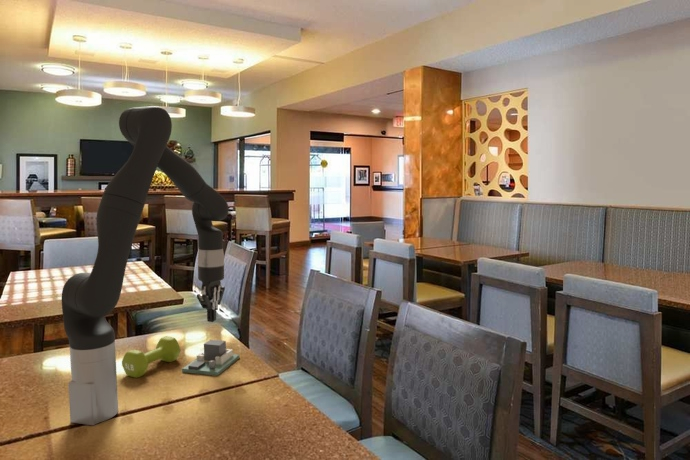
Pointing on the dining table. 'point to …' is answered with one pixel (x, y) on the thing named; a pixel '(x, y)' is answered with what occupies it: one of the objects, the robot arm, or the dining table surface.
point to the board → (214, 371)
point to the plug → (214, 349)
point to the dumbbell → (150, 356)
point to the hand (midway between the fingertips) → (211, 320)
